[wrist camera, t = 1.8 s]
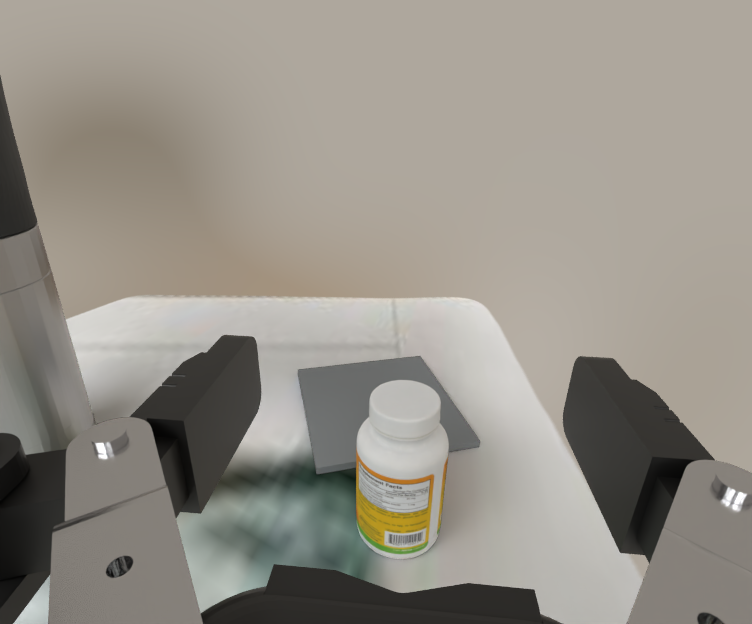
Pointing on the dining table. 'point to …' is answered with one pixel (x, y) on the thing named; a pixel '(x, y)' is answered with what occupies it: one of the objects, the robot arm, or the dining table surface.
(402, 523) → the supplement bottle
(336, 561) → the dining table surface
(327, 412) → the mat
